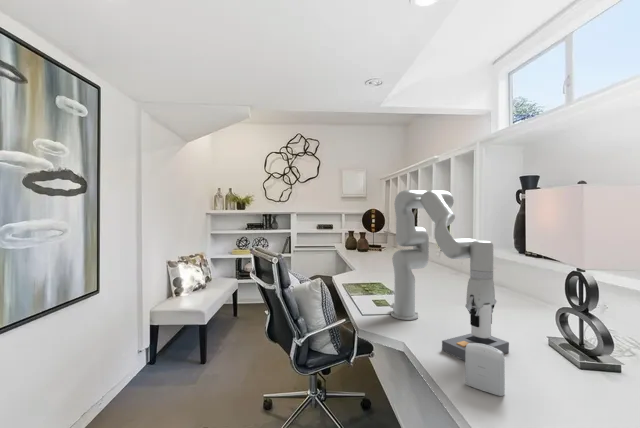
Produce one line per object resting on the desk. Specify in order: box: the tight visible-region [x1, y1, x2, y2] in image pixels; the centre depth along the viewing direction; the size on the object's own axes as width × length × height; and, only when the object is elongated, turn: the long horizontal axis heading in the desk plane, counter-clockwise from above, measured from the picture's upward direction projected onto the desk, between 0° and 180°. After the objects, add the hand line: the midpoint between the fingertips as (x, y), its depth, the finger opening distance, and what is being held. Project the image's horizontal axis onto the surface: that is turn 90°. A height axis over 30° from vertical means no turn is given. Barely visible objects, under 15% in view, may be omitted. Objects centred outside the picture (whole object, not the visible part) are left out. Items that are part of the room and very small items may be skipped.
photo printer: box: [464, 343, 506, 397], centre depth 95 cm, size 10×4×12 cm, turn 47°
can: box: [470, 304, 492, 339], centre depth 121 cm, size 6×6×12 cm
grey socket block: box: [441, 332, 510, 362], centre depth 120 cm, size 12×20×4 cm, turn 118°
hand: (481, 324), depth 121 cm, fingers closed on can, 6 cm apart
